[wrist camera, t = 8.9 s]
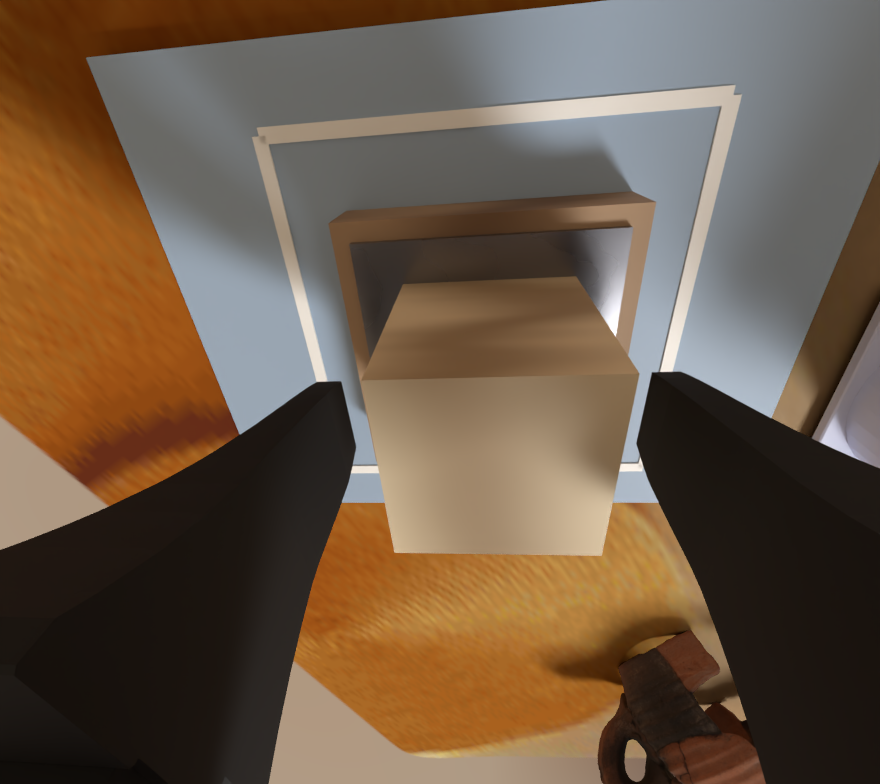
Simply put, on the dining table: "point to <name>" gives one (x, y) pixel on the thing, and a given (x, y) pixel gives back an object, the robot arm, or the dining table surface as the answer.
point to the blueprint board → (509, 184)
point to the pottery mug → (676, 722)
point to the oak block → (499, 417)
